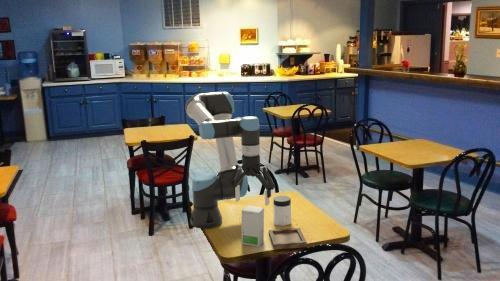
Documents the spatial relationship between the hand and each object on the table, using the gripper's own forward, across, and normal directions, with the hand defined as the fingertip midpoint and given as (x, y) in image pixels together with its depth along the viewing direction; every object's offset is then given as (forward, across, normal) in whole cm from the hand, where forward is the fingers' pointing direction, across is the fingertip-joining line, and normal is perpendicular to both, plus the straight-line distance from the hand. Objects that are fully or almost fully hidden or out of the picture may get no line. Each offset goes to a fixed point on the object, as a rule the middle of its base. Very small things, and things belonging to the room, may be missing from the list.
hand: (252, 202), depth 197 cm
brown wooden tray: (+18, +13, +7) cm, 23 cm away
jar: (+18, +4, +25) cm, 31 cm away
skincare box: (+18, 0, 0) cm, 18 cm away
